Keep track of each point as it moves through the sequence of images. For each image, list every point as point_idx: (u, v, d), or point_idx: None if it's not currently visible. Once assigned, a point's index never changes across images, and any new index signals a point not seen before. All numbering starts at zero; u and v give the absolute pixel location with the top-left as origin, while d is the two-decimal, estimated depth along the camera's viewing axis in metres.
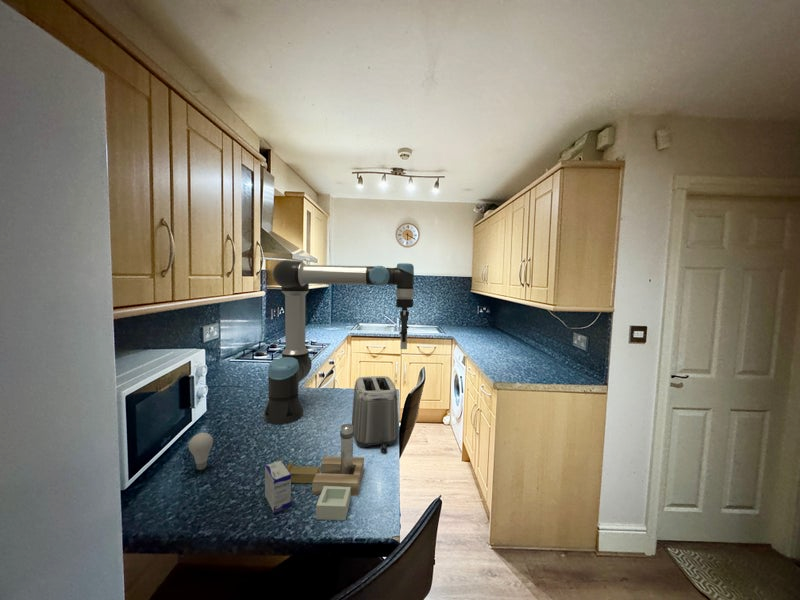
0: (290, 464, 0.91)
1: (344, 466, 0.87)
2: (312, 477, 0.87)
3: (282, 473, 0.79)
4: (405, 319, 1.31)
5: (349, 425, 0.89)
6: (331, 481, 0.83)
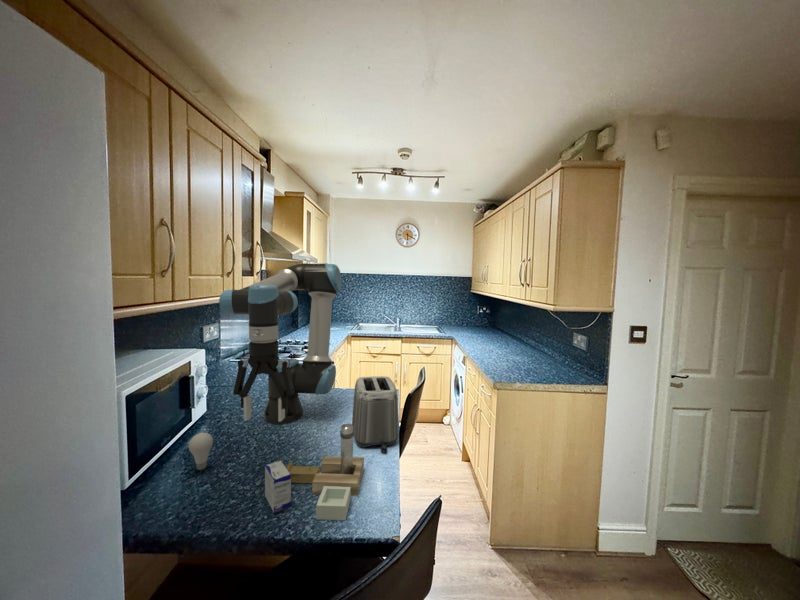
0: (290, 464, 0.91)
1: (344, 466, 0.87)
2: (312, 477, 0.87)
3: (282, 473, 0.79)
4: None
5: (349, 425, 0.89)
6: (331, 481, 0.83)
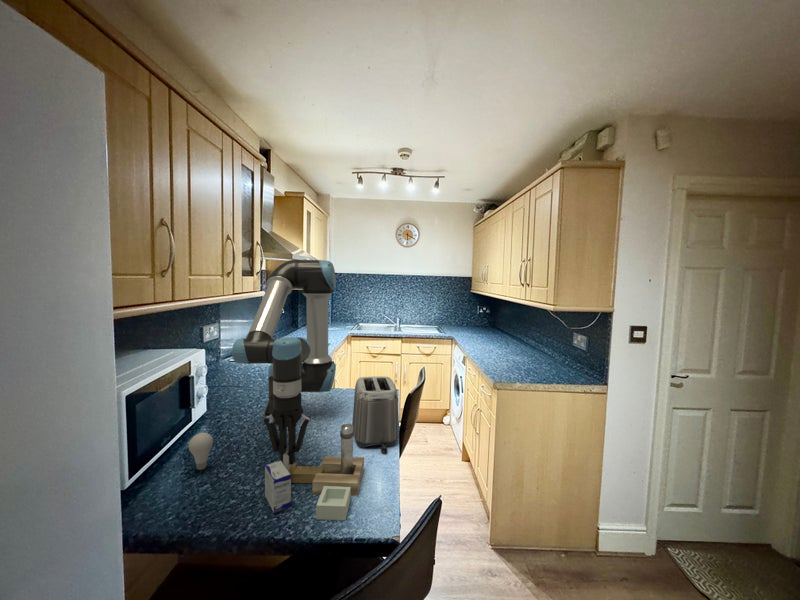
0: (294, 464, 0.91)
1: (344, 466, 0.87)
2: None
3: (282, 473, 0.79)
4: None
5: (349, 425, 0.89)
6: (331, 481, 0.83)
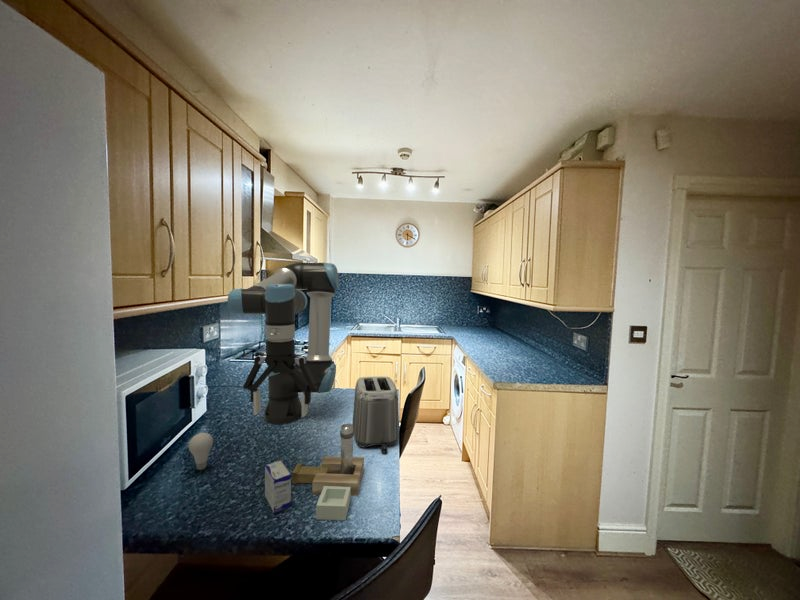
0: (299, 464, 0.91)
1: (344, 466, 0.87)
2: None
3: (282, 473, 0.79)
4: None
5: (349, 425, 0.89)
6: (331, 481, 0.83)
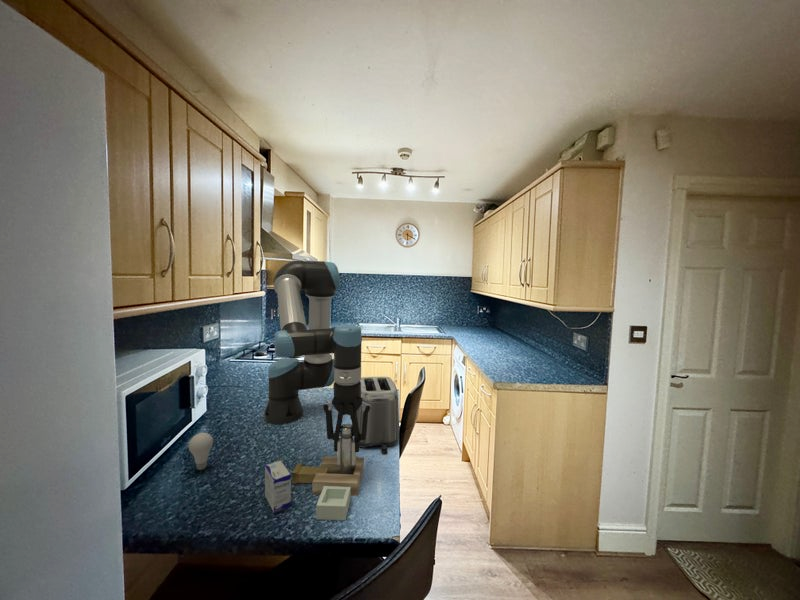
0: (299, 464, 0.91)
1: (344, 466, 0.87)
2: None
3: (282, 473, 0.79)
4: None
5: (349, 425, 0.89)
6: (331, 481, 0.83)
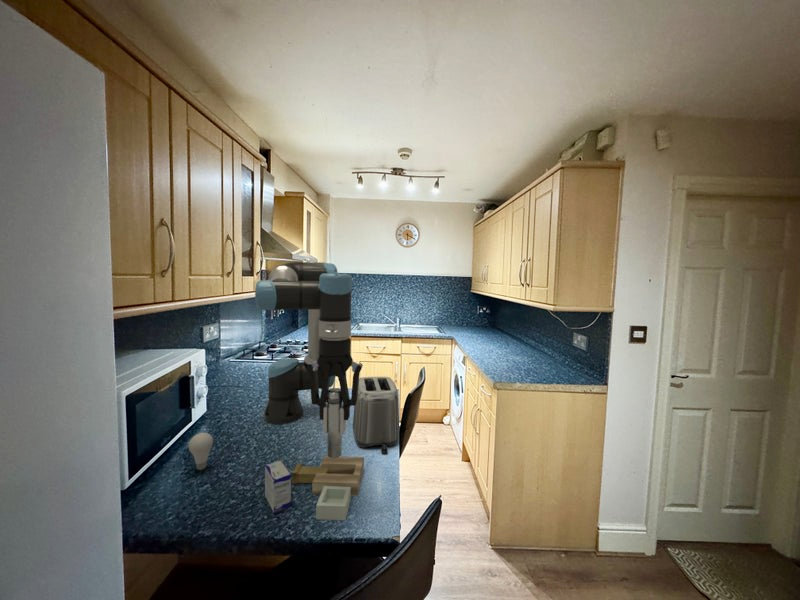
0: (299, 464, 0.91)
1: (332, 436, 0.75)
2: None
3: (282, 473, 0.79)
4: None
5: (337, 389, 0.77)
6: (331, 481, 0.83)
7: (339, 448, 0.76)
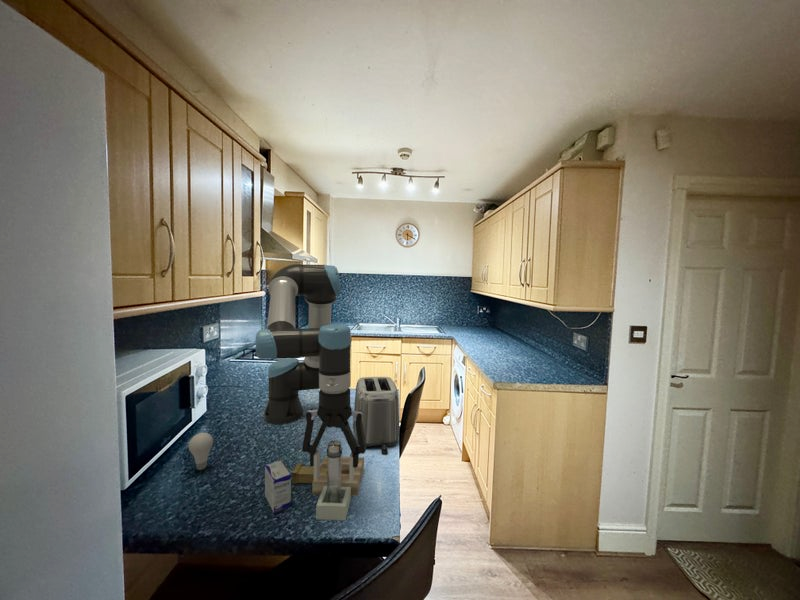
0: (299, 464, 0.91)
1: (331, 489, 0.76)
2: None
3: (282, 473, 0.79)
4: None
5: (337, 442, 0.78)
6: None
7: (339, 500, 0.77)
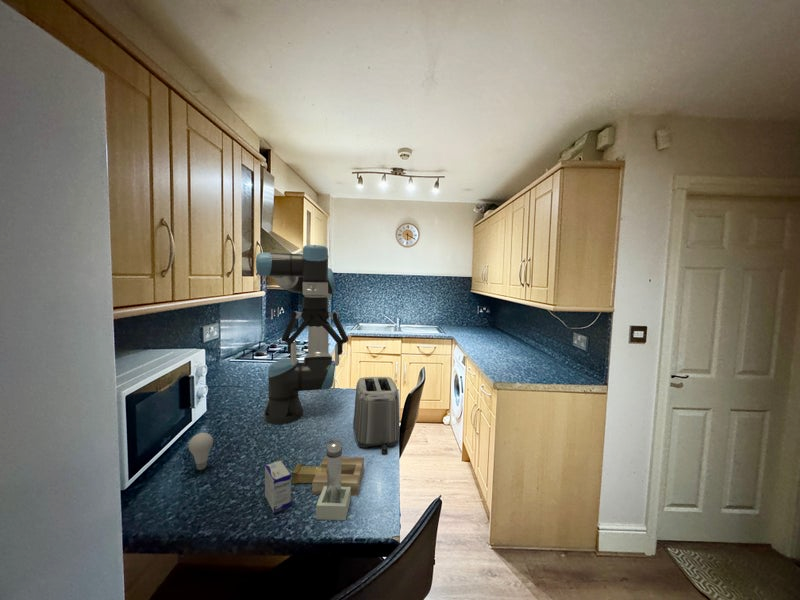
0: (299, 464, 0.91)
1: (331, 489, 0.76)
2: None
3: (282, 473, 0.79)
4: None
5: (336, 442, 0.78)
6: None
7: (339, 500, 0.77)
